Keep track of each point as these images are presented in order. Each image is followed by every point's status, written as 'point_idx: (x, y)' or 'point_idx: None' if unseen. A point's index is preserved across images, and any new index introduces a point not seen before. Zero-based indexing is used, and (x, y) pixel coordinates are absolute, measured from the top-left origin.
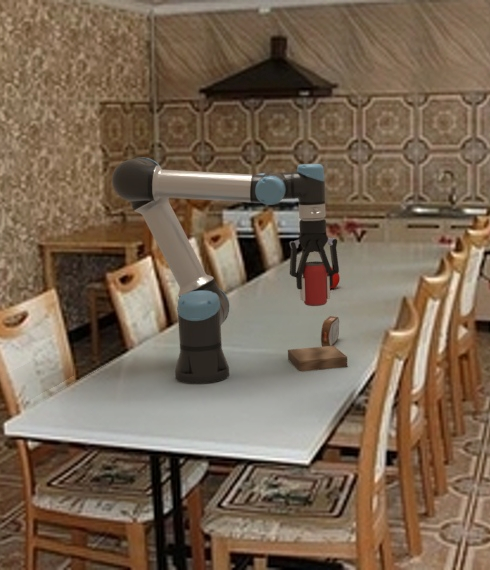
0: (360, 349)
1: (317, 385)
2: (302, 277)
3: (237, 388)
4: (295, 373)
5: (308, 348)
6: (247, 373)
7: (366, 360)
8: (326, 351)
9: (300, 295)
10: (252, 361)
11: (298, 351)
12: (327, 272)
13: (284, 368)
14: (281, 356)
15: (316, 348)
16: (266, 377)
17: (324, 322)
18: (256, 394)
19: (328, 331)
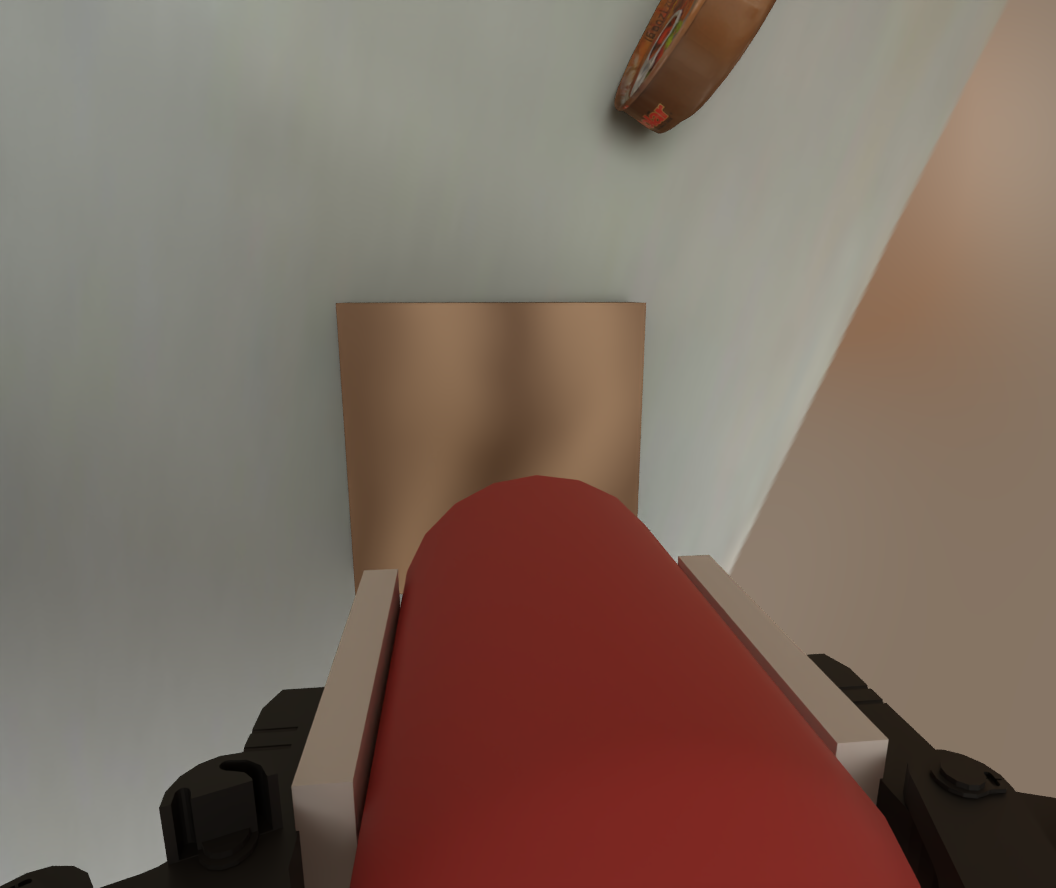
0: (815, 213)
1: None
2: (345, 835)
3: (4, 773)
4: (336, 597)
5: (475, 318)
6: (68, 525)
7: (751, 465)
8: (562, 432)
9: (356, 598)
10: (114, 262)
11: (396, 373)
12: (924, 843)
13: (294, 486)
14: (319, 202)
15: (524, 336)
16: (172, 628)
17: (702, 7)
18: (98, 875)
19: (686, 113)
